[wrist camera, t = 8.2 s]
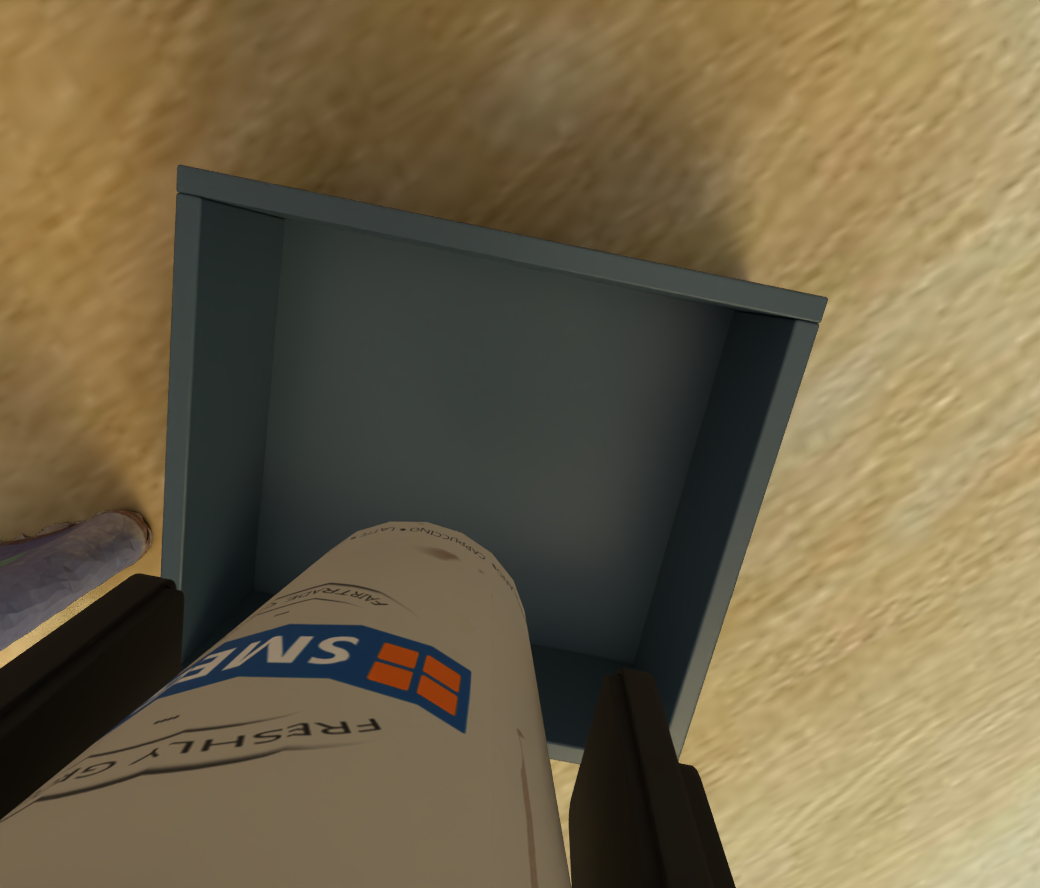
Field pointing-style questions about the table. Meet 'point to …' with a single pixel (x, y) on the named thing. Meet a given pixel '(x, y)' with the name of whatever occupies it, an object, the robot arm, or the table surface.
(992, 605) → the table surface
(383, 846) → the coffee cup
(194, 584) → the tub
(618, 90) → the table surface
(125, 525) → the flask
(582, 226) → the table surface
